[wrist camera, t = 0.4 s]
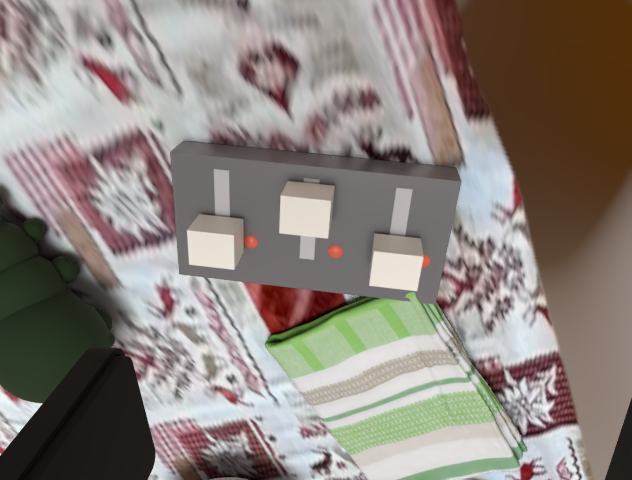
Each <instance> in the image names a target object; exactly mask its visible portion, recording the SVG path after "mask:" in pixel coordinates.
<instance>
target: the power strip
mask: <svg viewBox="0 0 632 480" xmlns="http://www.w3.org/2000/svg"><path fill="white" fill-rule="evenodd" d="M170 157H171V170H172V183H173V196H174V210H175V223H176V236H177V249H178V263H179V274H182V275H190V276H199V277H207V278H216V279H224V280H232V281H241V282H249V283H258V284H266V285H274V286H283V287H291V288H300V289H308V290H316V291H325V292H333V293H342V294H350V295H358V296H367V297H375V298H384V299H392V300H400V301H409V302H411V301H410V299H408V298H405V297H406V295H407V294H408V293H411V292H414V293H415V295H416V298H417V300H418V301H419V302H420V303H426V304H434V305H435V304H436V299H437V294H438V290H439V285H440V280H441V276H442V271H443V266H444V261H445V257H446V252H447V247H448V242H449V238H450V233H451V228H452V223H453V219H454V214H455V209H456V204H457V200H458V195H459V190H460V185H461V179H460V176H459V174H458V171H457V168H455V167H445V166H434V165H424V164H414V163H404V162H394V161H384V160H374V159H363V158H353V157H343V156H333V155H323V154H313V153H303V152H292V151H282V150H272V149H262V148H252V147H242V146H232V145H221V144H211V143H201V142H191V141H183V142H182V143H181V144H179V145H178V146H177V147H176V148H174V149H173V150H172V151H171V152H170ZM287 181H294V182H303V183H313V184H323V185H332V186H335V189H334V200H333V212H332V222H331V227H330V232H329V236H328V239H326V238H317V237H308V236H299V235H290V234H281V233H279V226H280V196H281V193H282V191H283V189H284V187H285V185H286V183H287ZM199 214H203V215H212V216H221V217H230V218H240V219H243V222H244V252H243V254H242V256H241V258H240V260H239V262H238V264H237V266H236V268H235V270H231V269H223V268H214V267H206V266H197V265H189V255H188V239H187V229H188V228H189V227H190V226H191V224H192V223H193V222H194V220H195V219H196V218H197V216H198V215H199ZM374 233H376V234H386V235H395V236H404V237H413V238H421V242H422V249H423V256H424V257H423V262H422V268H421V273H420V278H419V284H418V289H417V291H410V290H402V289H393V288H384V287H376V286H369V279H370V263H371V256H372V248H373V240H374Z"/></svg>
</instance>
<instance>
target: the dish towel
mask: <svg viewBox="0 0 632 480" xmlns="http://www.w3.org/2000/svg"><path fill="white" fill-rule="evenodd" d="M405 298H408V299H410V301H411V302H409V301H400V300H392V299H384V298H375V297H366V298H364V299H361V300H359V301H356V302H354V303H351V304H349V305H346V306H344V307H341V308H339V309H337V310H335V311H333V312H330V313H328V314H326V315H324V316H322V317H320V318H318V319H316V320H314V321H312V322H309V323H306V324H304V325H301V326H298V327H295V328H293V329H291V330H288V331H286V332H283V333H280V334H275V335H272V336H270V337H269V338H268V340H267V341H266V343H265V347H266V348H267V350H268V351H269V352H270V354H271V355H272V356H273V357H274V358H275V359H276V361H277V362H278V363H279V365H280V366H281V367H282V368H283V370H284V371H285V372H286V374H287V375H288V376H289V378H290V379H291V380H292V381H293V383H294V385H295V386H296V387H297V389H298V390H299V392H300V393H301V395H302V396H303V397H304V398H305V399H306V400H307V402H308V403H309V404H310V405H311V406H312V407H313V408H314V410H315V411H316V412H317V414H318V415H319V416H320V418H321V419H322V420H323V421H324V423H325V424H326V426H327V427H328V429H329V430H330V431H331V433H332V434H333V435H334V437H335V438H336V439H337V441H338V442H339V443H340V444H341V446H342V447H343V448H344V449H345V450H346V452H348V454H349V455H350V456H351V457H352V459H353V460H354V461H355V463H356V464H357V465H358V466H359V468H360V469H361V470H362V472H363V473H364V474H365V476H366V477H367V479H368V480H457V479H464V478H469V477H474V476H477V475H481V474H487V473H491V472H505V471H511V470H519V469H520V463H519V461H518V460H520V459H522V456H523V453H522V452H527V447H526V445H525V444H524V442H523V439H522V437H521V435H520V434H519V432H518V430H517V428H516V426H514V425H513V423H512V421H511V419H510V418H509V416H508V414H507V413H506V411H505V410H504V408H503V406H502V405H501V404H500V402H499V401H498V399H497V398H496V396H495V394H494V393H493V392H492V390H491V388H490V387H489V386H488V383H487V382H486V381H485V380H484V379H483V377H482V376H481V375H480V374H479V372H478V371H477V370H476V368H475V367H474V366H473V364H472V363H471V361H470V359H469V357H468V355H467V354H466V352H465V350H464V348H463V346H462V344H461V342H460V340H459V339H458V336H457V335H456V333H455V332H454V329H453V328H452V327H451V325H450V323H449V322H448V320H447V319H446V317H445V315H444V314H443V312H442V310H441V308H440V307H439V306H438V304H437V302H436V304H435V305H434V304H426V303H420V302H419V301H418V300H417V298H416V295H415V293H414V292H411V293H408V294H407V295H406V297H405Z"/></svg>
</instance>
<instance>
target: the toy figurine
mask: <svg viewBox="0 0 632 480" xmlns="http://www.w3.org/2000/svg"><path fill="white" fill-rule="evenodd" d="M2 203H3V201H2V198H1V196H0V206H1V205H2ZM45 231H46V228H45V226H44V224H43V222H40V221H38V220H36V219H33V220H28V221H25V222H24V223H23V224H22V225H21V227H20V226H18V225H15V224H13V223H10V222H3V221H2V220H1V219H0V385H1V386H2V387H3V388H4V389H5V390H7V391H8V392H9V393H11V394H13V395H14V396H16V397H18V398H21V399H23V400H26V401H30V402H36V403H44V402H45V400H46V399H47V398H48V397H49V396H50V394H51V393H52V392H53V391H54V389H55V388H56V387H57V386H58V384H59V383H60V382H61V381H62V380H63V378H64V377H65V376H66V375H67V373H68V372H69V371H70V370H71V369H72V367H73V366H74V365H75V364H76V362H77V361H78V360H79V359H80V357H81V356H82V355H83V354H84V353H85V351H87V350H88V349H89V348H91V347H104V348H110V347H111V346H112V345H113V344H114V341H115V338H114V335H113V334H112V333H111V332H110V330H111V328H112V319H111V317H110V315H109V314H108V313H107V312H105V311H104V310H100V309H94V308H93V307H92V306H91V305H89V304H88V303H87V302H85V301H83V300H81V299H79V298H77V297H75V296H71V295H68V294H67V286H66V284H69V283H70V282H72V281H73V280H74V279H75V277H76V276H77V274H78V272H79V268H78V265H77V262H76V261H74V260H73V259H72V258H71V257H62V256H58V257H57V258H55V259H53V260H52V261H51V262H50V261H49V260H47V259H45V258H42V257H39V251H38V247H37V245H36V241H39V240H41V239H43V238H44V235H45Z"/></svg>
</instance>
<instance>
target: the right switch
mask: <svg viewBox="0 0 632 480" xmlns="http://www.w3.org/2000/svg"><path fill="white" fill-rule="evenodd" d="M423 257H424V256H423V249H422V242H421V238H413V237H404V236H395V235H386V234H376V233H374V240H373V248H372V256H371V263H370V279H369V286H376V287H384V288H393V289H402V290H410V291H417V289H418V284H419V278H420V273H421V268H422V262H423Z"/></svg>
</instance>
